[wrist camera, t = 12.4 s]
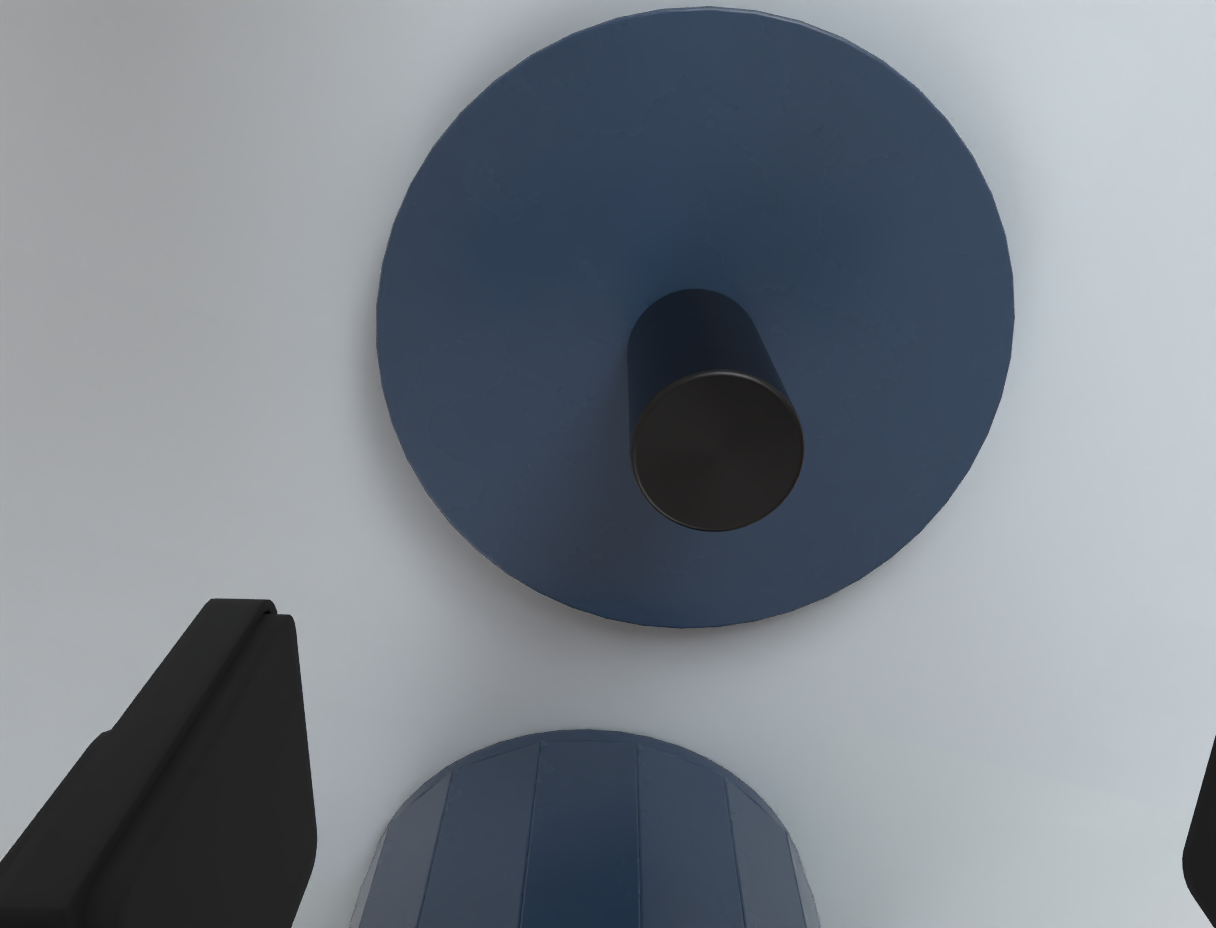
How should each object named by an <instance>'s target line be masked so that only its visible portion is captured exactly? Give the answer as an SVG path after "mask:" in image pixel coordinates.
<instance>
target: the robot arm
mask: <svg viewBox="0 0 1216 928" xmlns="http://www.w3.org/2000/svg"><path fill="white" fill-rule="evenodd" d="M316 849H317V827H316V818H315V808H314V798H313V789H312V779H311V770H310V760H309V750H308V741H307V731H306V722H305V712H304V702H303V693H302V683H301V674H300V664H299V654H298V645H297V635H296V628H295V622H294V620H293V617H292V616H291V615H282V614H277V610H276V608H275V605H274V603H273V602H272V601H271V600H263V599H218V598H216V599H210V600H209V601H208V602H207V603H206V604H205V605H204V607H203V608H202V609H201V611H200V612H199V613H198V615H197V616H196V617H195V619H194V620H193V621H192V623H191V624H190V625H189V627H188V628H187V629H186V631H185V632H184V633H183V635H182V636H181V637H180V639H179V640H178V641H177V643H176V644H175V645H174V647H173V648H172V649H171V651H170V652H169V654H168V655H167V656H166V658H165V659H164V660H163V662H162V663H161V664H160V666H159V667H158V668H157V670H156V671H155V672H154V674H153V675H152V676H151V678H150V679H149V680H148V682H147V683H146V684H145V686H144V687H143V688H142V690H141V691H140V692H139V694H138V695H137V696H136V698H135V699H134V700H133V702H132V703H131V704H130V706H129V707H128V708H127V710H126V711H125V712H124V714H123V715H122V716H121V718H120V719H119V720H118V722H117V723H116V724H115V726H114V727H113V728H112V730H109V731H106V732H103V733H101V734H100V735H99V736H98V737H97V738H96V739H95V740H94V741H93V742H92V743H91V744H90V745H89V747H88V748H87V749H86V751H85V752H84V753H83V755H82V756H81V757H80V759H79V760H78V761H77V762H76V764H75V765H74V766H73V768H72V769H71V770H70V772H69V773H68V774H67V776H66V777H65V778H64V780H63V781H62V782H61V783H60V785H59V786H58V787H57V789H56V790H55V791H54V793H53V794H52V795H51V797H50V798H49V799H48V801H47V802H46V803H45V804H44V806H43V807H42V808H41V810H40V811H39V812H38V814H37V815H36V816H35V818H34V819H33V820H32V821H31V823H30V824H29V825H28V827H27V828H26V829H25V831H24V832H23V833H22V835H21V836H20V837H19V839H18V840H17V841H16V842H15V844H14V845H13V846H12V848H11V849H10V850H9V852H8V853H7V854H6V856H5V857H4V858H3V859H2V861H1V862H0V928H291V927H292V924H293V921H294V919H295V916H296V913H297V911H298V908H299V905H300V903H301V900H302V897H303V895H304V892H305V889H306V887H307V884H308V881H309V879H310V876H311V873H312V870H313V867H314V862H315V857H316ZM1182 866H1183V873H1184V878H1185V881H1186V884H1187V887H1188V889H1189V890H1190V892H1191V894H1192V896H1193V897H1194V899H1195V900H1196V902H1197V903H1198V905H1199V906H1200V908H1201V909H1202V911H1203V912H1204V913H1205V915H1206V916H1207V918H1208V919H1209V921H1210V922H1211V924H1212V925H1213V927H1214V928H1216V736H1215V740H1214V743H1213V747H1212V750H1211V754H1210V758H1209V761H1208V765H1207V768H1206V772H1205V775H1204V779H1203V782H1202V786H1201V790H1200V793H1199V797H1198V800H1197V804H1196V807H1195V811H1194V815H1193V818H1192V822H1191V825H1190V829H1189V832H1188V836H1187V840H1186V843H1185V847H1184V850H1183V857H1182Z"/></svg>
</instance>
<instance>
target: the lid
mask: <svg viewBox="0 0 1216 928" xmlns="http://www.w3.org/2000/svg"><path fill="white" fill-rule="evenodd" d="M1014 319H1015V313H1014V288H1013V273H1012V267H1011V262H1010V256H1009V251H1008V245H1007V240H1006V234H1005V231H1004V228H1003V225H1002V222H1001V219H1000V216H999V213H998V210H997V207H996V204H995V201H994V198H993V195H992V193H991V191H990V189H989V187H988V185H987V183H986V181H985V179H984V177H983V175H982V173H981V171H980V169H979V167H978V165H977V163H976V161H975V159H974V157H973V155H972V154H971V152H970V151H969V150H968V148H967V147H966V145H965V144H964V142H963V141H962V139H961V138H960V137H959V135H958V134H957V132H956V131H955V129H954V128H953V127H952V125H951V124H950V122H949V121H948V120H947V119H946V118H945V116H944V115H943V114H942V113H941V112H940V111H939V110H938V109H937V108H936V107H935V106H934V105H933V104H932V103H931V102H930V101H929V99H928V98H927V97H926V96H925V95H924V94H923V93H922V92H921V91H920V90H919V89H918V88H917V87H916V86H915V85H913V84H912V83H911V82H909V81H908V80H907V79H906V78H904V77H903V76H902V75H901V74H899V73H898V72H897V71H896V70H894V69H893V68H892V67H890V66H889V65H888V64H887V63H885V62H884V61H883V60H881V59H879V58H878V57H876V56H874V55H872V54H871V53H869V52H867V51H866V50H864V49H862V48H860V47H859V46H857V45H855V44H853V43H852V42H850V41H848V40H846V39H845V38H843V37H840V36H838V35H835V34H833V33H830V32H828V31H825V30H822V29H820V28H817V27H815V26H812V25H810V24H807V23H805V22H802V21H799V20H795V19H790V18H786V17H782V16H778V15H773V14H769V13H765V12H761V11H757V10H746V9H735V8H723V7H712V6H705V7H687V8H669V9H659V10H654V11H649V12H644V13H639V14H634V15H629V16H624V17H619V18H615V19H612V20H610V21H607V22H604V23H601V24H598V25H595V26H593V27H590V28H587V29H584V30H581V31H578V32H575V33H573V34H571V35H569V36H567V37H565V38H563V39H561V40H559V41H557V42H555V43H553V44H551V45H549V46H547V47H545V48H544V49H542V50H540V51H538V52H536V53H534V54H532V55H530V56H529V57H528V58H526V59H525V60H523V61H522V62H520V63H519V64H518V65H516V66H515V67H513V68H512V69H511V70H509V71H508V72H506V73H505V74H504V75H502V76H501V77H499V78H498V79H496V80H495V81H494V82H493V83H492V84H490V85H489V86H488V87H487V88H486V89H485V90H484V91H483V92H482V93H481V94H480V95H479V96H478V97H477V98H476V99H474V100H473V101H472V102H471V103H470V104H469V105H468V106H467V107H466V108H465V109H464V110H463V111H462V112H461V113H460V114H459V115H458V116H457V118H456V119H455V120H454V121H453V123H452V124H451V125H450V126H449V128H448V129H447V130H446V131H445V133H444V134H443V135H442V136H441V137H440V139H439V140H438V141H437V142H436V144H435V145H434V146H433V147H432V149H431V151H430V152H429V154H428V156H427V157H426V159H425V161H424V162H423V164H422V166H421V167H420V169H419V171H418V172H417V174H416V176H415V177H414V179H413V181H412V182H411V184H410V186H409V188H408V191H407V193H406V195H405V198H404V200H403V202H402V205H401V207H400V209H399V212H398V214H397V216H396V219H395V221H394V223H393V226H392V230H391V234H390V237H389V241H388V245H387V248H386V252H385V256H384V259H383V263H382V268H381V275H380V283H379V290H378V298H377V305H376V347H377V354H378V361H379V369H380V376H381V383H382V388H383V392H384V396H385V399H386V403H387V407H388V410H389V414H390V418H391V421H392V425H393V427H394V429H395V432H396V434H397V436H398V439H399V441H400V443H401V446H402V448H403V451H404V453H405V455H406V458H407V460H408V462H409V463H410V465H411V467H412V469H413V470H414V472H415V474H416V475H417V477H418V479H419V480H420V482H421V484H422V486H423V487H424V489H425V491H426V492H427V494H428V495H429V496H430V498H431V499H432V500H433V502H434V503H435V504H436V505H437V507H438V508H439V509H440V511H441V512H442V513H443V515H444V516H445V517H446V518H447V520H448V521H449V522H450V524H451V525H452V526H453V527H454V528H455V529H456V530H457V531H458V532H459V533H460V534H461V535H462V536H463V537H464V538H465V539H466V540H467V541H468V542H469V543H470V544H471V545H472V546H473V547H474V548H475V549H476V550H477V551H479V552H480V553H481V554H483V555H484V556H485V557H486V558H488V559H489V560H490V561H492V562H493V563H494V564H495V565H497V566H498V567H499V568H500V569H502V570H503V571H504V572H506V573H507V574H509V575H510V576H512V577H514V578H515V579H517V580H519V581H520V582H522V583H524V584H525V585H527V586H529V587H530V588H532V589H534V590H535V591H537V592H539V593H541V594H543V595H545V596H548V597H550V598H552V599H554V600H556V601H559V602H561V603H563V604H565V605H567V606H570V607H572V608H575V609H578V610H582V611H585V612H588V613H591V614H594V615H597V616H600V617H604V618H607V619H612V620H617V621H622V622H627V623H633V624H638V625H643V626H656V627H669V628H704V627H721V626H727V625H734V624H740V623H747V622H753V621H758V620H761V619H765V618H769V617H772V616H776V615H780V614H784V613H787V612H791V611H794V610H796V609H799V608H801V607H804V606H806V605H809V604H811V603H814V602H816V601H819V600H821V599H824V598H826V597H828V596H830V595H832V594H834V593H836V592H837V591H839V590H841V589H843V588H845V587H847V586H849V585H851V584H852V583H854V582H856V581H858V580H860V579H861V578H863V577H864V576H866V575H867V574H869V573H870V572H871V571H873V570H874V569H876V568H877V567H879V566H880V565H881V564H883V563H884V562H886V561H887V560H889V559H890V558H892V557H893V556H894V555H895V554H896V553H897V552H898V551H899V550H901V549H902V548H903V547H904V546H905V545H906V544H907V543H909V542H910V541H911V540H912V539H913V538H914V537H915V536H916V535H918V534H919V533H920V532H921V531H922V530H923V529H924V527H925V526H926V525H927V524H928V523H929V522H930V521H931V520H932V518H933V517H934V516H935V515H936V514H937V513H938V512H939V511H940V510H941V508H942V507H943V506H944V505H945V504H946V503H947V501H948V500H949V498H950V497H951V496H952V494H953V493H954V491H955V490H956V488H957V487H958V486H959V484H960V483H961V481H962V480H963V478H964V477H965V475H966V474H967V473H968V471H969V469H970V468H971V466H972V464H973V462H974V460H975V458H976V456H977V454H978V452H979V450H980V449H981V447H982V445H983V443H984V441H985V439H986V437H987V435H988V433H989V430H990V427H991V424H992V422H993V419H994V416H995V414H996V411H997V408H998V406H999V403H1000V400H1001V398H1002V393H1003V389H1004V385H1005V380H1006V376H1007V372H1008V368H1009V363H1010V359H1011V350H1012V340H1013V329H1014Z"/></svg>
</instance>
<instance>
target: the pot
mask: <svg viewBox="0 0 1216 928" xmlns="http://www.w3.org/2000/svg"><path fill="white" fill-rule="evenodd" d="M349 928H821V927H820V922H819V918H818V913H817V909H816V905H815V900H814V896H813V894H812V891H811V889H810V886H809V884H808V882H807V879H806V877H805V873H804V870H803V867H802V863H801V860H800V857H799V854H798V851H797V849H796V847H795V845H794V843H793V841H792V839H791V837H790V835H789V833H788V831H787V829H786V828H785V827H784V825H783V824H782V822H781V821H780V820H779V818H778V817H777V816H776V814H775V813H774V811H773V810H772V809H771V808H770V807H769V806H768V805H767V804H766V803H765V802H764V801H763V799H762V798H761V797H760V796H759V795H758V794H757V793H756V792H755V791H754V790H753V789H752V788H750V787H749V786H748V785H746V784H745V783H744V782H743V781H741V780H740V779H739V778H737V777H736V776H735V775H734V774H732V773H731V772H729V771H728V770H726V769H724V768H723V767H721V766H719V765H717V764H716V763H714V762H712V761H711V760H709V759H707V758H705V757H703V756H701V755H698V754H696V753H694V752H692V751H689V750H687V749H685V748H682V747H680V746H677V745H674V744H671V743H667V742H664V741H661V740H657V739H654V738H651V737H646V736H640V735H635V734H630V733H624V732H617V731H604V730H590V729H587V730H559V731H552V732H545V733H538V734H531V735H526V736H522V737H518V738H515V739H511V740H507V741H503V742H500V743H497V744H494V745H492V746H489V747H487V748H484V749H482V750H479V751H477V752H474V753H472V754H470V755H468V756H466V757H464V758H462V759H461V760H459V761H457V762H455V763H453V764H451V765H450V766H448V767H446V768H445V769H443V770H442V771H441V772H439V773H438V774H437V775H435V776H434V777H432V778H431V779H430V780H428V781H427V782H426V783H424V784H423V785H422V786H421V787H420V788H419V789H418V790H417V791H416V792H415V793H414V794H413V795H412V796H411V797H410V798H409V799H408V800H407V801H406V802H405V803H404V804H403V806H402V807H401V808H400V810H399V811H398V812H397V813H396V815H395V816H394V817H393V819H392V820H391V821H390V823H389V825H388V827H387V829H386V830H385V832H384V834H383V836H382V838H381V840H380V841H379V844H378V847H377V850H376V852H375V855H374V858H373V861H372V864H371V866H370V868H369V871H368V873H367V875H366V877H365V880H364V882H363V884H362V886H361V889H360V892H359V896H358V899H357V902H356V905H355V909H354V912H353V915H352V918H351V922H350V925H349Z"/></svg>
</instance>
